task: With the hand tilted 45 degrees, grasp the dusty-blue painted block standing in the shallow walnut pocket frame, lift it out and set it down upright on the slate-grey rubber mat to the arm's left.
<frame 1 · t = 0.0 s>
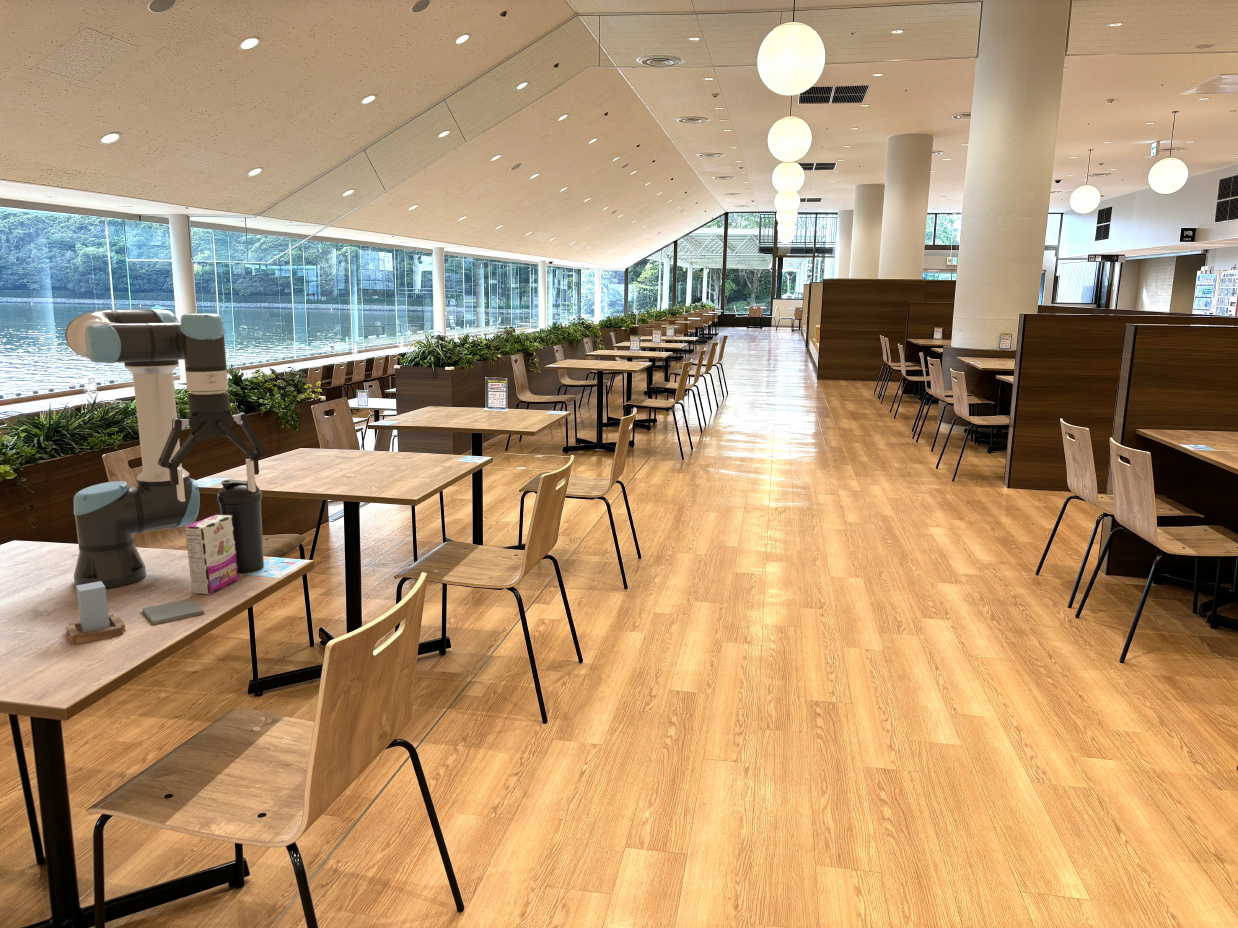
hand: (217, 495, 176), 28 cm above the table, tool pointing down, fingers open, 13 cm apart
walnut pocket frame: (96, 632, 177), on the table
water bottle: (245, 569, 219), on the table
grey rubber mat: (173, 612, 188), on the table
dusty blue painted block: (93, 609, 176), in the walnut pocket frame
candy bar box: (215, 587, 205), on the table
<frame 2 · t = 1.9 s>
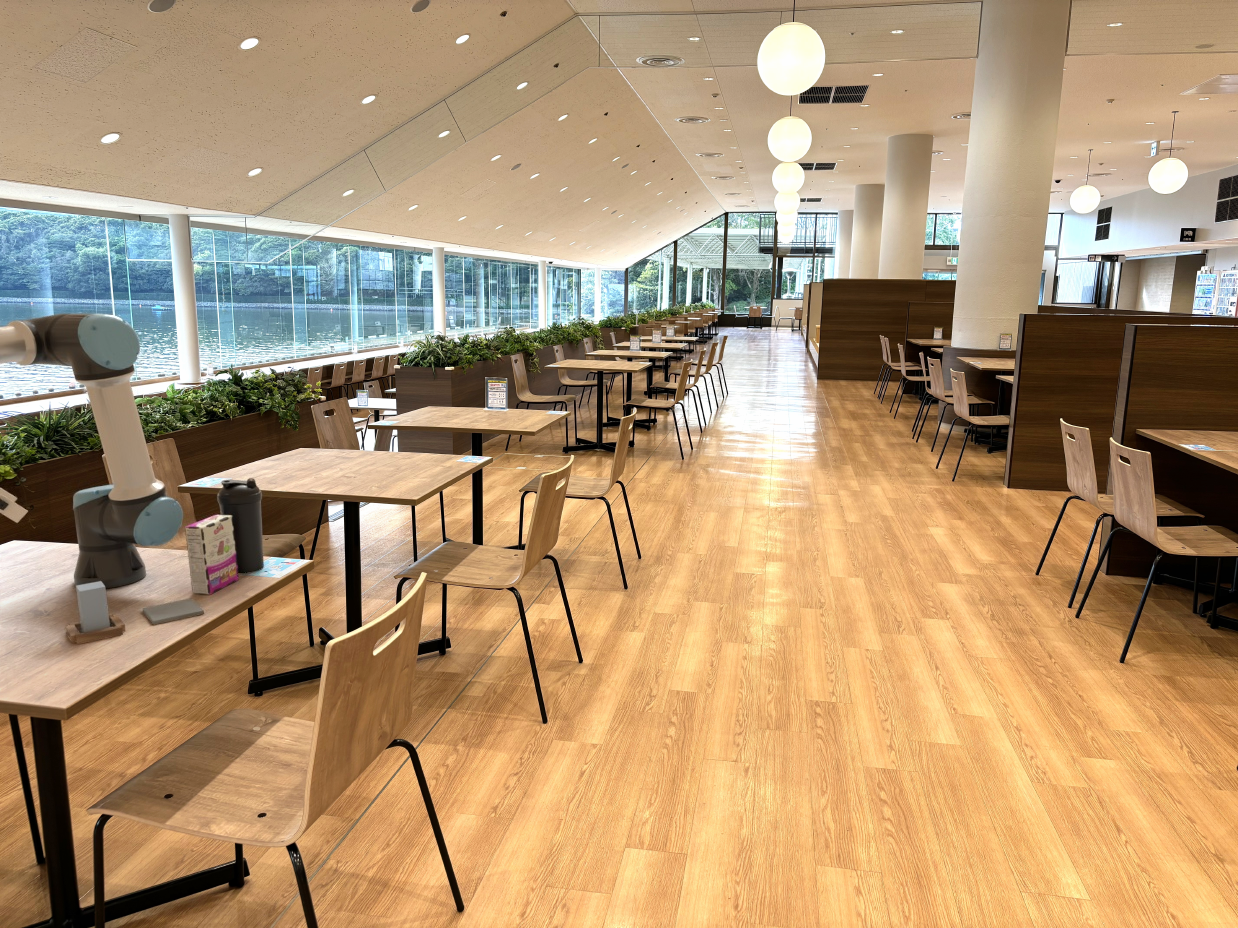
hand: (17, 510, 165), 28 cm above the table, tool tilted 45°, fingers open, 13 cm apart
nothing on the table moved.
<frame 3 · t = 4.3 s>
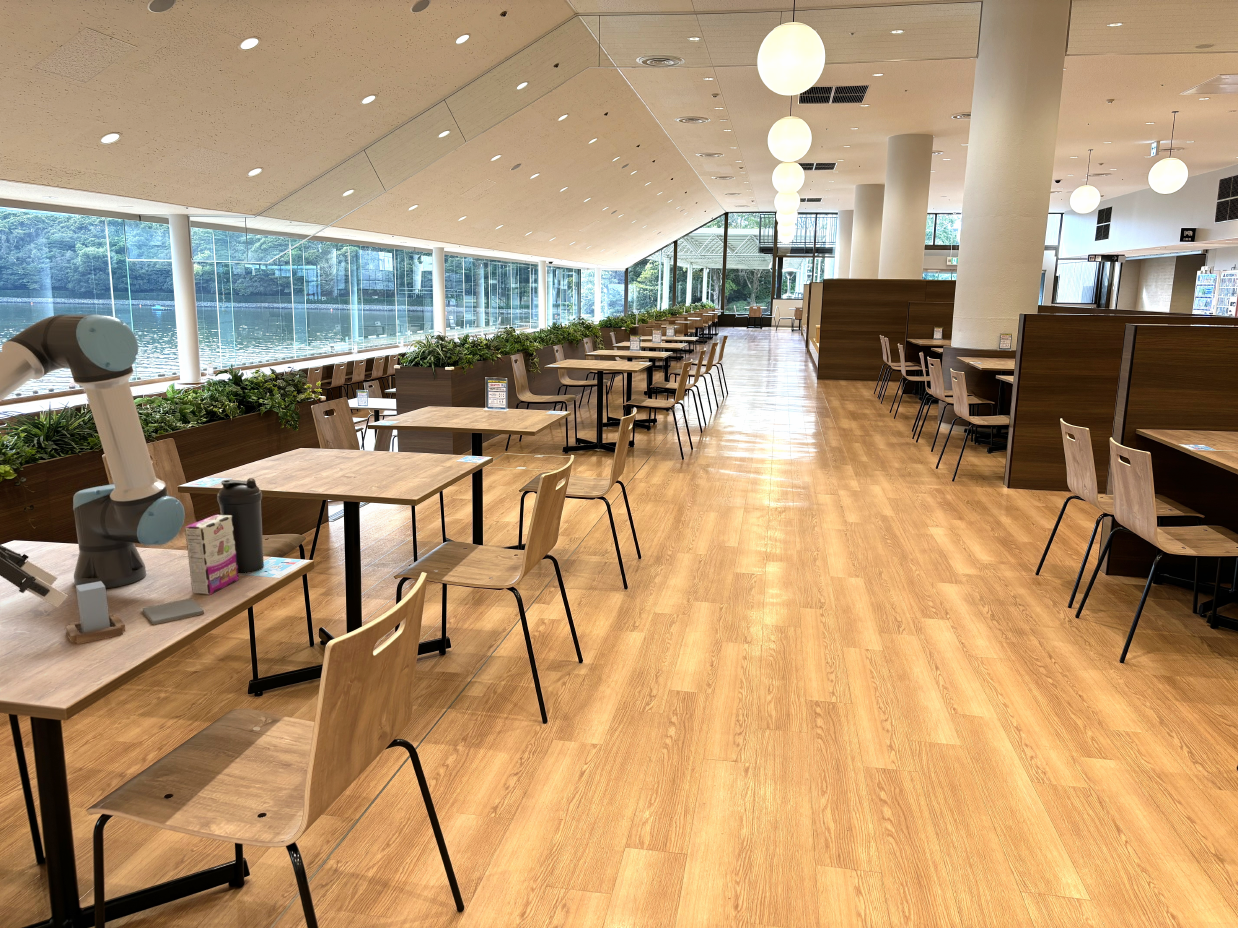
hand: (57, 592, 171), 10 cm above the table, tool tilted 45°, fingers open, 13 cm apart
nothing on the table moved.
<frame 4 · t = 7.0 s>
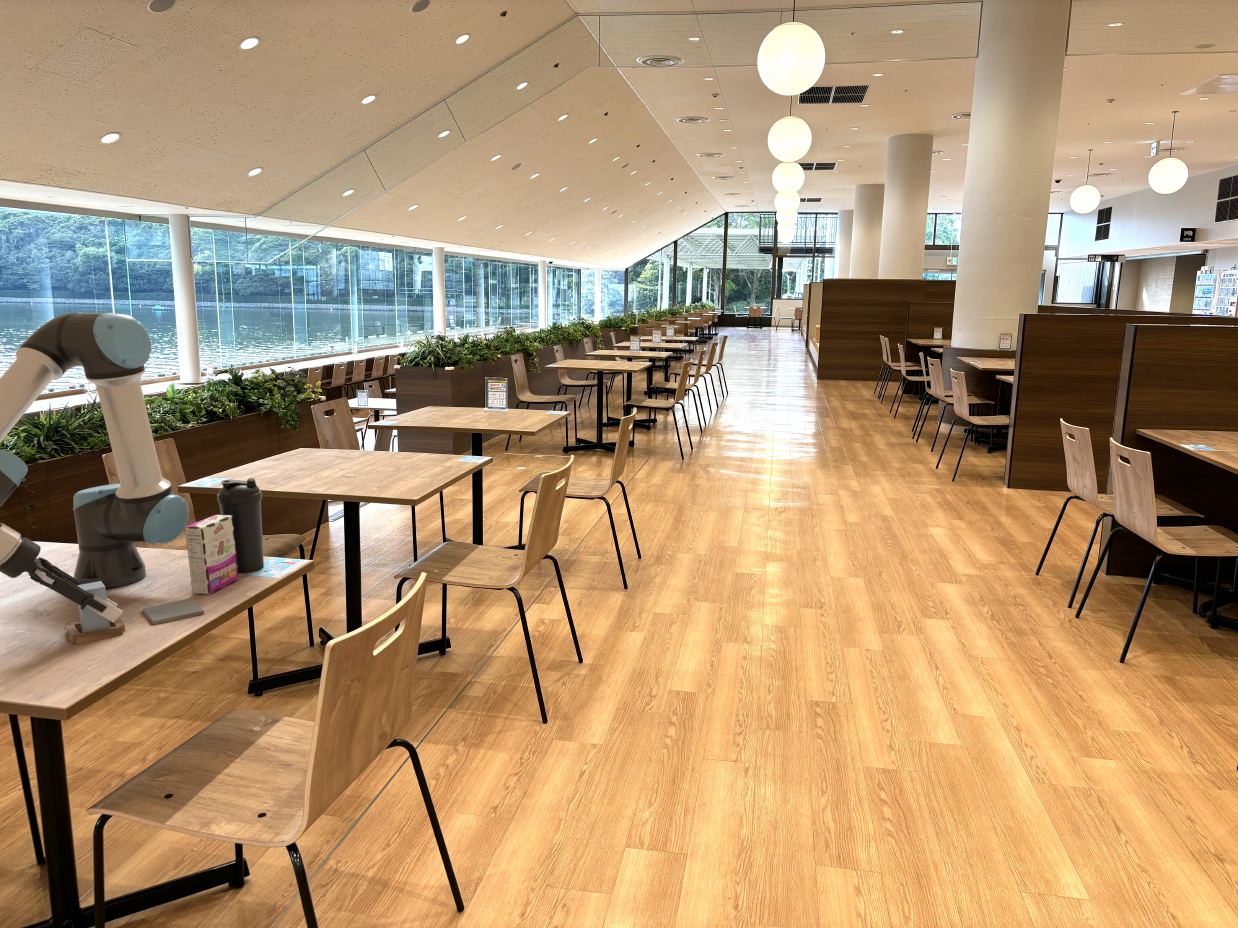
hand: (115, 612, 179), 3 cm above the table, tool tilted 45°, fingers closed on dusty blue painted block, 4 cm apart
dusty blue painted block: (93, 609, 176), in the walnut pocket frame, touching gripper
everything else where it was.
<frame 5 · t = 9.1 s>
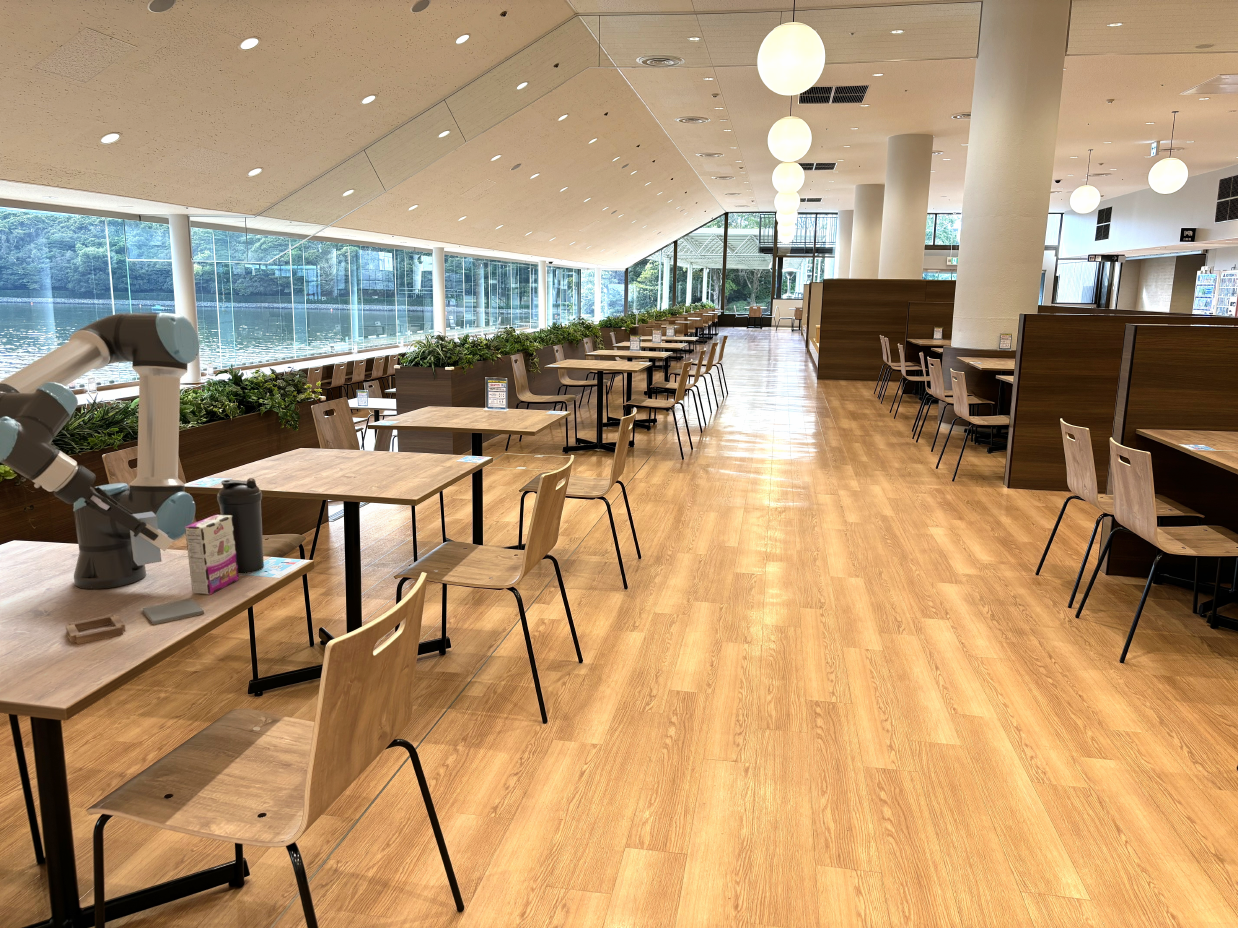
hand: (165, 542, 184), 16 cm above the table, tool tilted 45°, fingers closed on dusty blue painted block, 4 cm apart
dusty blue painted block: (144, 538, 181), point 18 cm above the table, touching gripper
everything else where it was.
when the fingers open (6 cm above the table, at t = 11.7 s): dusty blue painted block drops 1 cm, resting on grey rubber mat.
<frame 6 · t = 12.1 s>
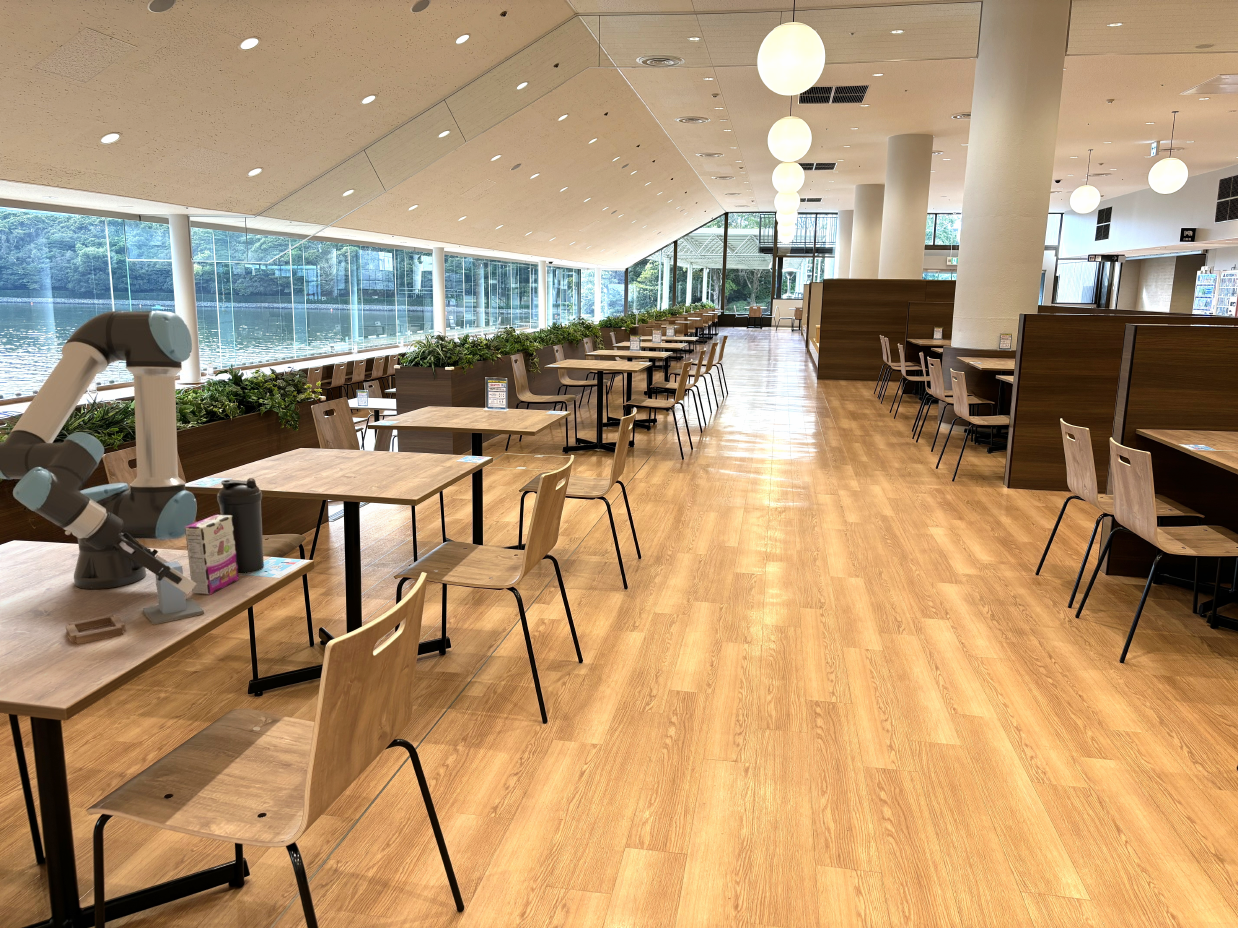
hand: (184, 581, 189), 6 cm above the table, tool tilted 45°, fingers open, 10 cm apart
dusty blue painted block: (170, 587, 187), on the grey rubber mat, point 6 cm above the table
everything else where it was.
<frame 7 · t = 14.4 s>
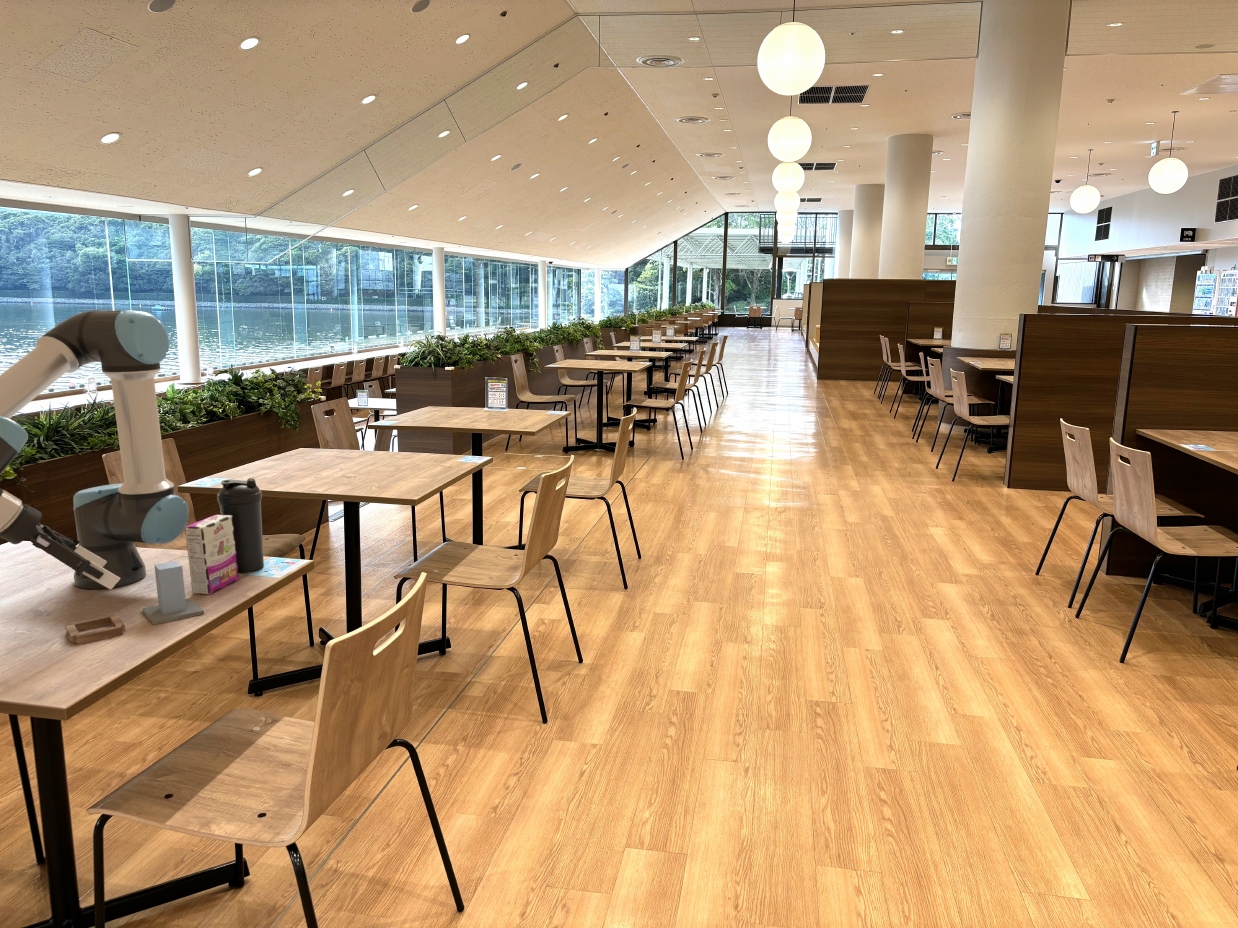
hand: (108, 575, 179), 11 cm above the table, tool tilted 45°, fingers open, 13 cm apart
nothing on the table moved.
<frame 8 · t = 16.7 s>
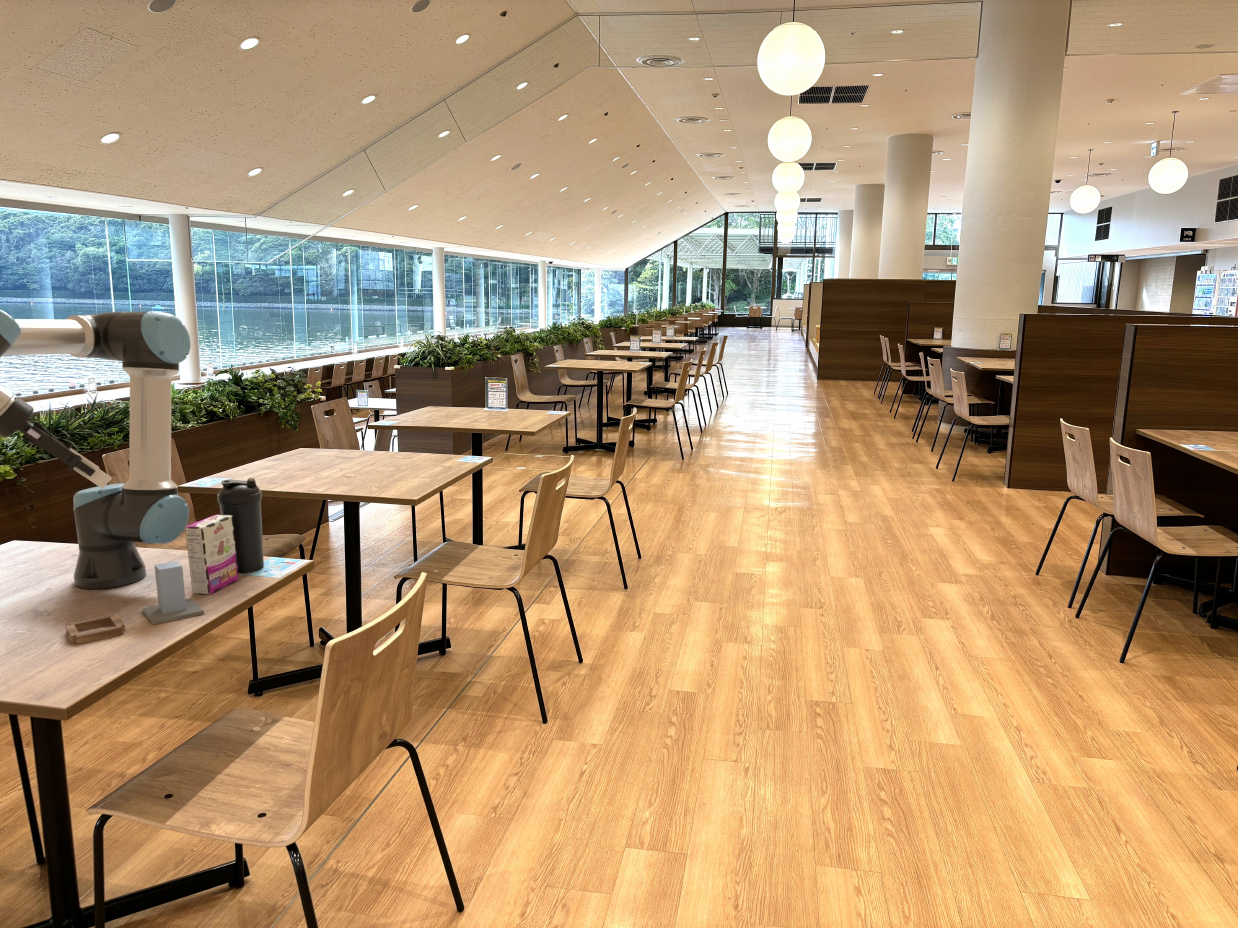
hand: (100, 477, 175), 32 cm above the table, tool tilted 45°, fingers open, 13 cm apart
nothing on the table moved.
at the end: dusty blue painted block inside the target area on the grey rubber mat (0.0 cm from its centre), point 5.8 cm above the grey rubber mat's base; dusty blue painted block tilted 0°; the gripper is holding nothing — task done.
